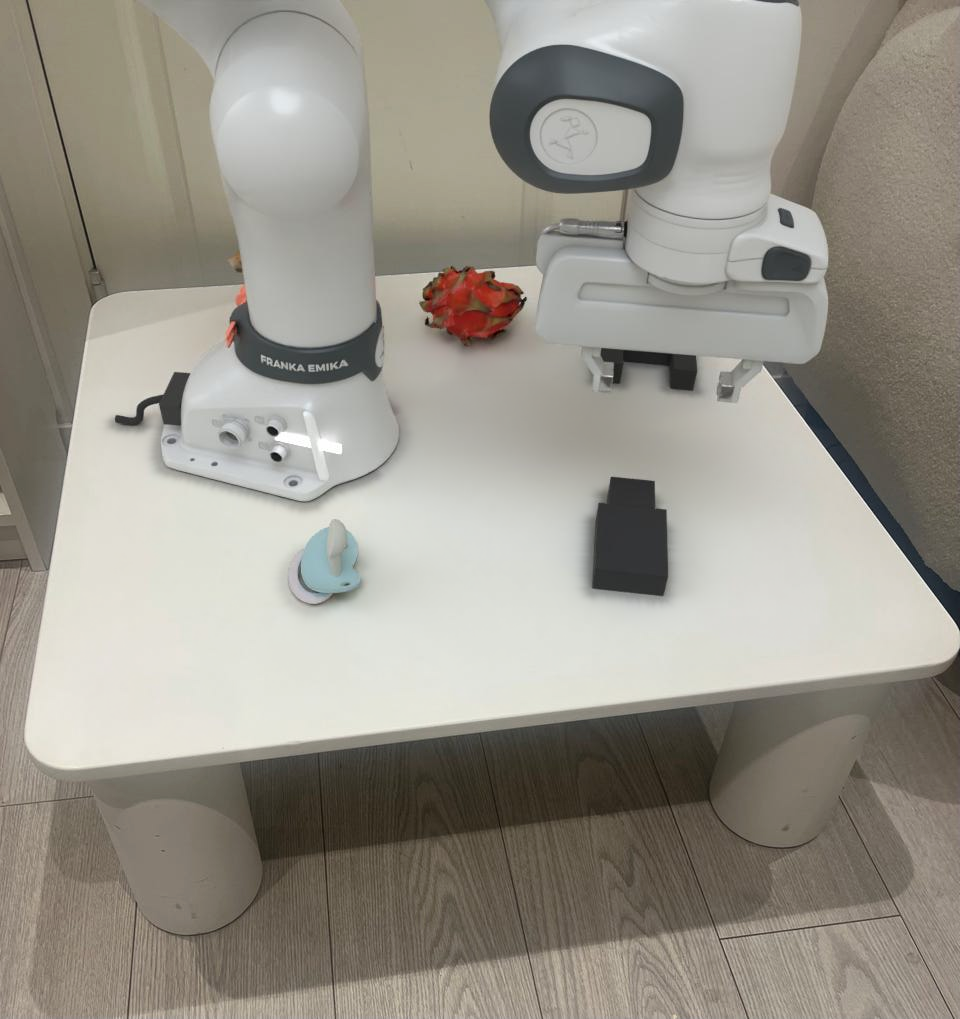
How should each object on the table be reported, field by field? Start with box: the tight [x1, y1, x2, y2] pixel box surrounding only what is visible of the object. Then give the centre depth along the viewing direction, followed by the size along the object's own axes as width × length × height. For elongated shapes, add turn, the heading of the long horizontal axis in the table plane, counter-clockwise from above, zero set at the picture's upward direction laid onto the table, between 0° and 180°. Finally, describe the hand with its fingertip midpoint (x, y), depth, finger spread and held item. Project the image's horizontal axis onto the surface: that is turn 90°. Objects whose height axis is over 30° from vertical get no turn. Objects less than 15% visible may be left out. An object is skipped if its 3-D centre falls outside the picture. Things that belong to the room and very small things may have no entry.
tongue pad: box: [591, 476, 669, 597], centre depth 88 cm, size 12×6×2 cm, turn 173°
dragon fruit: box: [418, 265, 528, 346], centre depth 109 cm, size 8×8×12 cm
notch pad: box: [600, 348, 698, 391], centre depth 109 cm, size 12×10×2 cm
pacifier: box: [287, 518, 361, 605], centre depth 83 cm, size 7×6×6 cm
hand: (663, 392), depth 77 cm, fingers open, 8 cm apart
